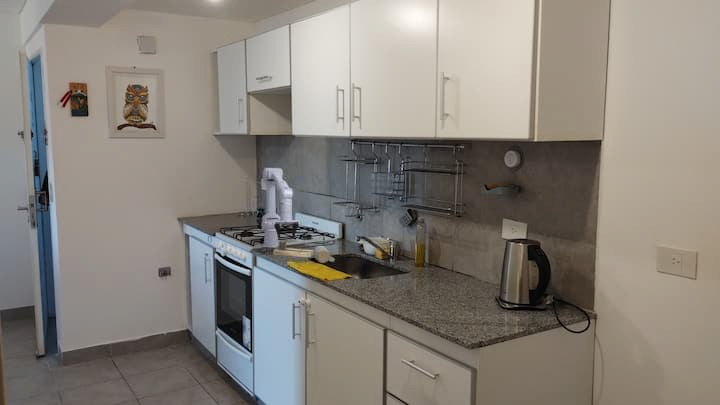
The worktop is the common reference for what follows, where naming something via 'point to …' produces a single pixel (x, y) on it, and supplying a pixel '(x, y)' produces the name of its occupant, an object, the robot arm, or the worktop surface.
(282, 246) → the fader knob
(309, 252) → the fader console
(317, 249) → the ceramic mug
